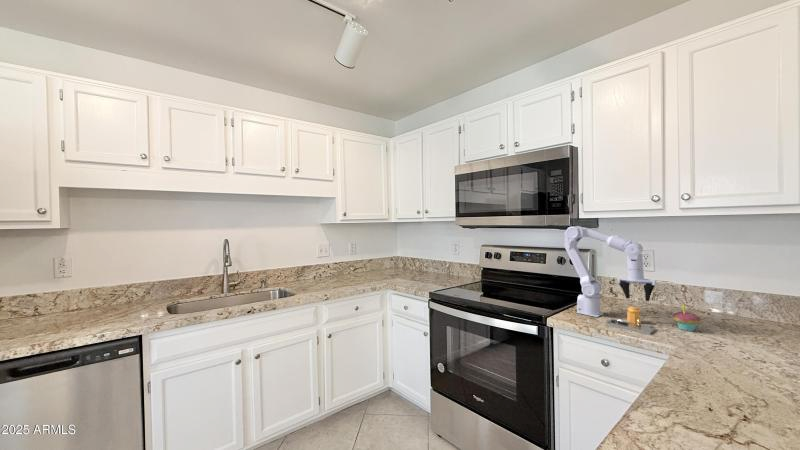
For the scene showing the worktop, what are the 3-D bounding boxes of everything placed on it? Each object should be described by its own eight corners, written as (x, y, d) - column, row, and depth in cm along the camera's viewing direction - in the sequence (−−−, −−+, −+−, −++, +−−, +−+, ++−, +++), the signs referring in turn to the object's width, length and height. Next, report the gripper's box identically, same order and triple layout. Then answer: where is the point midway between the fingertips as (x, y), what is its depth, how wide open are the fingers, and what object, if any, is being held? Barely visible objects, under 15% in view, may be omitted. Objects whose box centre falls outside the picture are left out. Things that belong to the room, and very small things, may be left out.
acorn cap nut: (626, 321, 144) (626, 307, 144) (629, 319, 147) (629, 305, 147) (638, 324, 141) (638, 309, 141) (641, 322, 144) (641, 307, 144)
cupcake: (690, 333, 129) (690, 304, 129) (667, 327, 137) (668, 299, 137) (705, 331, 131) (705, 302, 131) (682, 325, 140) (682, 297, 139)
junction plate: (605, 324, 141) (605, 315, 141) (612, 320, 147) (612, 311, 147) (650, 334, 129) (650, 324, 129) (656, 329, 134) (656, 320, 134)
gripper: (658, 269, 139) (660, 300, 139) (621, 267, 151) (623, 295, 151) (651, 271, 135) (654, 303, 135) (614, 268, 148) (616, 298, 147)
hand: (637, 299), depth 143 cm, fingers open, 7 cm apart
